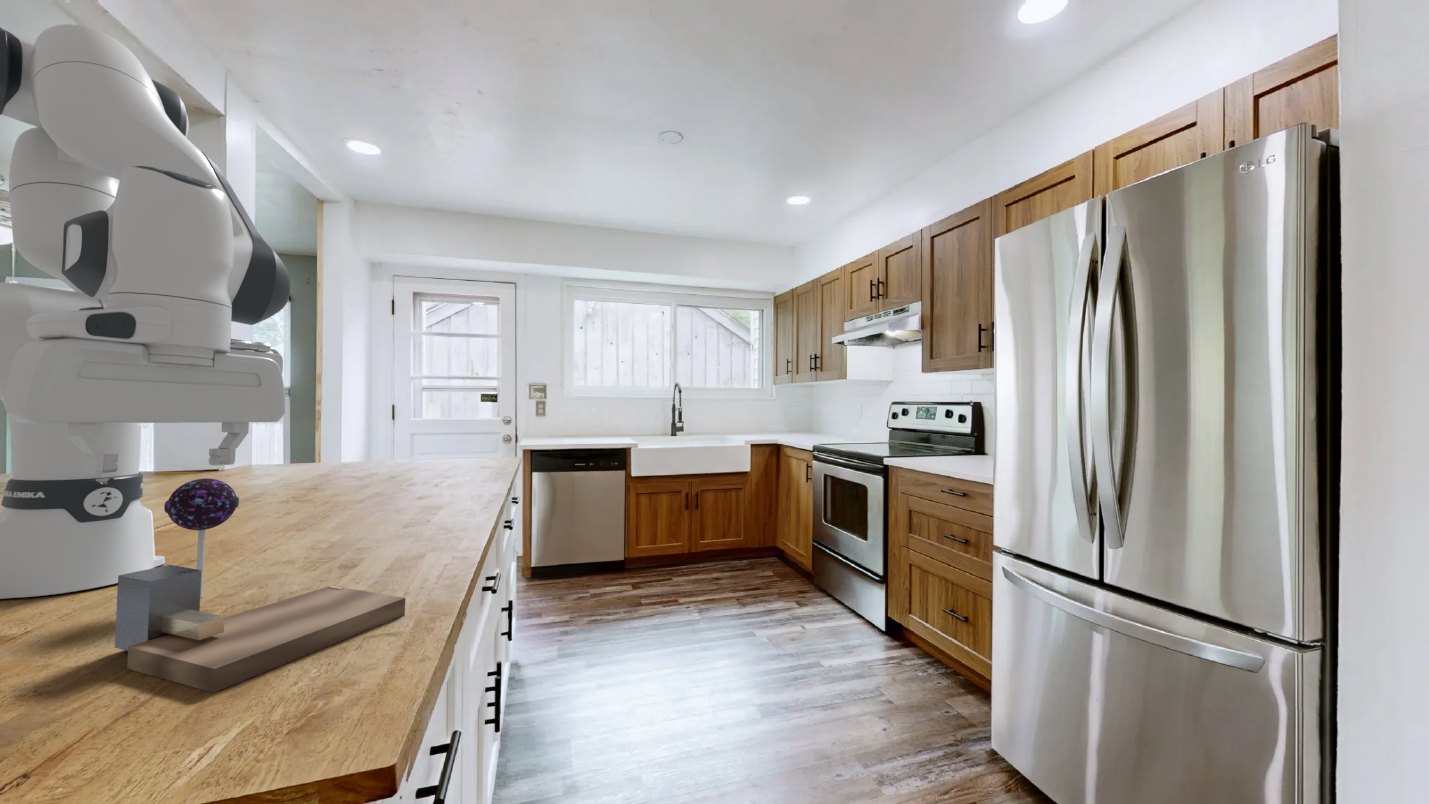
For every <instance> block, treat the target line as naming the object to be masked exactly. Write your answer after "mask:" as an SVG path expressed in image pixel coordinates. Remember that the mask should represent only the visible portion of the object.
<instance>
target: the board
mask: <svg viewBox="0 0 1429 804" xmlns="http://www.w3.org/2000/svg"><path fill="white" fill-rule="evenodd" d="M405 614H406V597H402V596H397V595H390V594H384V593H380V592H379V593H377V592H373V591H367V590H361V589H360V590H359V589H354V588H348V587H342V586H338V585H337V586H336V585H329V586H326V587H322V588H318V589H315V590H312V591H309V592H306V593H302V594H299V595H295V596H292V597H289V598H284V599H282V600H278V601H276V602H272V603H269V604H265V605H262V606H259V607H256V608H253V609H249V610H245V611H242V612H240V613H236V614H233V615H229V616H226V617H225V616H224V632H223V633H220V634H217V635H214V636H210V637H207V638H204V639H201V640H195V639H191V638H186V637H182V636H178V635H174V634H169V635H166V636H162V637H159V638H156V639H152V640H149V641H146V642H142V643H139V644H136V645H132V646H129V647H128V651H127V665H126V669H127V670H130V671H133V672H138V673H142V674H145V675H149V676H153V677H156V678H160V679H164V680H167V681H170V682H174V683H178V684H182V685H184V686H188V687H193V688H194V689H195V688H196V689H199V690H203V691H206V692H210V693H216V692H219V691H221V690H223V689H226V688H228V687H231V686H234V685H236V684H238V683H241V682H243V681H246V680H248V679H250V678H253V677H255V676H258V675H260V674H263V673H265V672H268V671H270V670H273V669H275V668H277V667H281V666H283V665H285V664H288V663H291V662H292V661H295V660H297V659H300V658H302V657H304V656H307V655H310V654H313V653H315V652H317V651H319V650H322V649H324V648H326V647H328V646H331V645H334V644H336V643H339V642H341V641H344V640H346V639H348V638H351V637H354V636H356V635H359V634H361V633H363V632H366V631H369V630H371V629H373V628H376V627H378V626H381V625H383V624H386V623H389V622H391V621H393V620H395V619H398V618H401V617H403V616H405Z"/></svg>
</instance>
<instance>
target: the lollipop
mask: <svg viewBox="0 0 1429 804" xmlns="http://www.w3.org/2000/svg"><path fill="white" fill-rule="evenodd" d="M239 506H240V497H239V496H237V494H236V492H235V490H234V489H233V487H231V486H230V485H229V484H228V483H226V482H225V481H222V480H219V479H217V478H216V479H215V478H203V477H202V478H198V479H197V478H196V479H194V480H190V481H188V482H185V483H183V484H182V485H180V486H178V487H177V488H176V489H175V490H174V491H173V492H172V493H171V494H170V496H169V497H168V500H166V501H165V502H164V510H163V511H164V512H165V513H166V514H167V515H168V517H169V519H170V520H171V521H172V522H173V523H174V524H175V525H176V526H178V527H181V528H182V529H185V530H190V531H197V532H198V533H197V554H196V555H197V556H196V569H197V570H201V591H200V599H202V598H203V593H204V571H205V570H204V569H205V568H204V567H205V549H206V548H205V546H206V530H210V529H213V528H216V527H218V526H221V525H222V524H224V523H225V522H226V521H228V520H229V519H230V518H231V516H232V515H233V514H234V512H235V511H236V508H239Z"/></svg>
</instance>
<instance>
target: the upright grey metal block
mask: <svg viewBox="0 0 1429 804" xmlns="http://www.w3.org/2000/svg"><path fill="white" fill-rule="evenodd" d="M116 591H117V592H116V593H117V596H116V613H115V614H116V615H115V632H114V633H115V635H114V636H115V637H114V648H115V649H119V650H123V651H127V652H128V647H129V646H132V645H136V644H139V643H142V642H146V641H149V640H152V639H156V638H159V637H162V636H166V635H169V634H174V635H178V636H182V637H186V638H191V639H195V640H201V639H204V638H207V637H210V636H214V635H217V634H220V633H223V632H224V618H225V616H223V615H217V614H213V613H210V612H209V613H208V612H205V611H201V610H200V608H201V598H200V591H201V570H197V568H191V567H184V566H179V565H174V564H167V565H163V566H162V565H161V566H157V567H154V568H152V569H147V570H142V571H137V572H132V573H128V574H123V575H118V583H117V590H116Z"/></svg>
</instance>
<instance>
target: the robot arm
mask: <svg viewBox="0 0 1429 804" xmlns="http://www.w3.org/2000/svg"><path fill="white" fill-rule="evenodd" d="M0 116H5V117H8V118H9V119H10V118H11V119H12V120H17V121H19V122H22V123H25V124H28V125H31V126H34V127H32V128H29V129H26V130H24V131H22V132H21V133H20V134H19V135H18V137H17V138H16V140H15V144H14V147H13V149H12V154H11V159H10V165H9V174H8V176H9V177H8V194H9V197H8V198H9V208H10V221H11V231H12V241H13V245H14V247H15V249H16V250H17V251H18V253H19V254H20V255H21V256H22V257H23V259H25V261H27V262H28V263H29V264H30V265H31V266H33V267H35V268H36V269H38V270H40V271H42V272H44V273H46V274H47V275H49V276H52V277H53V278H56V279H58V280H60V281H61V282H63V283H64V284H65V285H66V286H68V287H69V288H71V289H72V290H73V291H72V290H64V289H58V288H53V287H51V288H50V287H46V286H45V287H44V286H38V285H30V284H23V283H18V282H0V401H1V402H2V404H3V405H4V410H5V412H6V414H8V416H9V421H10V426H11V432H12V447H13V456H12V457H13V459H12V460H13V462H12V463H13V464H12V478H10V479H8V480H7V483H6V485H5V488H4V489H3V492H2V500H1V502H0V503H1V504H0V506H2V507H3V508H2V509H1V511H0V600H1V599H2V600H3V599H15V598H29V597H31V598H32V597H40V596H49V595H57V594H58V595H59V594H67V593H71V592H73V593H74V592H78V591H84V590H91V589H95V588H100V587H105V586H110V585H115V584H118V575H123V574H128V573H132V572H137V571H142V570H147V569H152V568H157V567H160V566H162V565H164V564H165V563H166V557H165V556H163V555H156V552H155V532H154V531H155V530H154V519H153V511H152V510H151V509H149V508H148V507H145V506H144V505H143V504H142V503H141V501H140V499H141V498H142V497H143V493H144V492H143V490H144V487H145V482H144V474H143V473H141V472H139V471H140V455H141V453H140V451H141V437H142V436H141V431H142V426H141V424H148V423H149V424H150V423H151V424H154V423H157V424H159V423H160V424H161V423H162V424H165V423H166V424H168V423H169V424H170V423H171V424H172V423H173V424H174V423H176V424H177V423H178V424H180V423H181V424H182V423H184V424H185V423H186V424H187V423H188V424H189V423H192V424H193V423H202V424H203V423H204V424H207V423H221V432H222V433H226V435H225V436H224V438H223V439H222V441H221V442H220V444H219V445H218V447H217V448H209V449H208V450H209V451H208V455H209V458H208V463H209V465H210V466H230V465H231V466H232V465H234V464H235V462H236V450H237V449H238V447H239V446H240V445H241V443H242V442H243V441H244V440H245V439H246V437H247V436H248V435H249V428H250V423H278V422H280V421H281V419H282V418H283V417H284V416H285V414H286V411H287V410H286V408H287V406H286V405H287V404H286V403H287V402H286V394H285V393H286V391H285V384H284V377H283V367H284V358H283V356H282V355H281V353H279V351H278V350H277V349H275V348H273V347H271V344H269V343H266V342H261V341H260V342H257V341H256V342H254V341H253V342H252V341H251V342H250V341H248V340H247V341H246V340H242V339H234V338H232V322H234V323H239V324H242V325H243V324H244V325H249V326H254V325H256V324H259V323H261V322H263V321H265V320H268V319H270V318H271V317H273V316H275V315H276V314H278V313H279V312H280V311H281V310H282V309H283V308H285V306H286V305H287V303H288V301H289V299H290V298H289V297H290V292H291V281H290V280H291V277H290V275H289V271H288V269H287V267H286V265H285V263H283V261H282V259H281V258H280V257H279V255H278V254H277V253H276V252H275V251H274V249H273V248H272V247H271V246H270V245H269V244H268V243H267V242H266V241H265V240H264V239H263V237H262V236H261V234H260V232H259V231H258V229H257V227H256V226H255V224H254V222H253V221H252V219H251V217H250V215H249V214H248V212H247V211H246V209H245V207H244V206H243V204H242V202H241V201H240V199H239V197H238V196H237V194H236V192H235V191H234V189H233V187H232V186H231V184H230V182H229V180H228V179H227V178H226V176H225V174H224V173H223V171H222V170H221V168H220V167H219V166H218V165H217V163H216V162H214V160H212V159H211V158H210V157H209V156H208V155H207V154H206V153H205V152H203V151H202V150H200V149H199V148H198V147H197V146H196V145H194V143H193V142H192V141H190V140H189V139H188V135H189V132H190V131H189V130H190V121H189V117H188V114H187V109H186V105H185V103H184V101H183V100H182V99H181V96H180V95H179V94H178V93H177V92H176V91H174V90H173V89H171V88H169V87H167V86H166V85H164V84H162V83H160V82H158V81H156V80H154V79H152V78H151V77H150V75H149V74H148V72H147V71H146V69H145V68H144V66H143V64H142V63H141V62H140V60H139V59H138V58H137V56H136V55H135V54H134V53H133V52H132V51H131V50H130V49H129V48H128V47H127V46H125V45H124V43H122V42H121V41H119V40H117V39H115V38H114V37H112V36H110V35H109V34H106V33H104V32H103V31H100V30H97V29H95V28H91V27H88V26H84V25H79V24H72V23H71V24H70V23H69V24H59V25H53V26H50V27H48V28H46V29H45V30H43V31H42V32H41V33H39V35H38V36H37V37H36V39H35V38H32V37H28V36H26V35H25V36H24V35H20V34H17V33H13V32H9V31H8V30H6V29H4V28H2V27H1V26H0Z"/></svg>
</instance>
